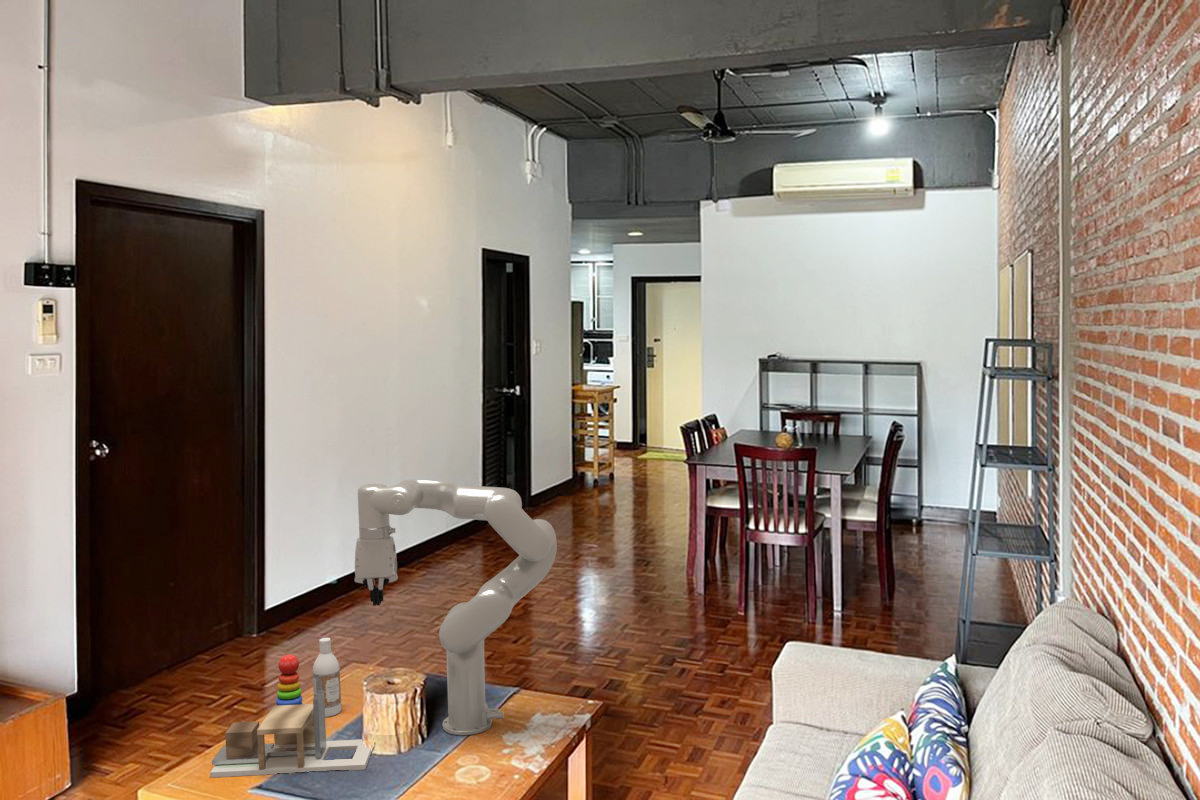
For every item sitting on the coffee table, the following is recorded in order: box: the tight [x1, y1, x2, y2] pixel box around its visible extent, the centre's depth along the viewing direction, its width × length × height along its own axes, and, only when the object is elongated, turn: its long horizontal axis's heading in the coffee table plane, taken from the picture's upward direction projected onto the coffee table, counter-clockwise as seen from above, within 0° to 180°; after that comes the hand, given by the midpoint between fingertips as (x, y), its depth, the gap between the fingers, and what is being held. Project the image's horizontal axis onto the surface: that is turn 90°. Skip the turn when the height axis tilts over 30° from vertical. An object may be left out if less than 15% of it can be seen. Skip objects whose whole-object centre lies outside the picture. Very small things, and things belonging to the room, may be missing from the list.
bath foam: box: [312, 637, 342, 718], centre depth 250 cm, size 7×7×20 cm
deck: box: [209, 738, 372, 778], centre depth 223 cm, size 35×14×1 cm, turn 94°
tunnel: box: [257, 703, 315, 770], centre depth 223 cm, size 10×14×10 cm
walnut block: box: [224, 720, 260, 758], centre depth 222 cm, size 6×6×6 cm
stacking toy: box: [275, 654, 304, 706], centre depth 242 cm, size 8×8×19 cm
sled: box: [211, 690, 327, 766], centre depth 222 cm, size 25×8×14 cm, turn 94°
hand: (377, 604), depth 239 cm, fingers closed
